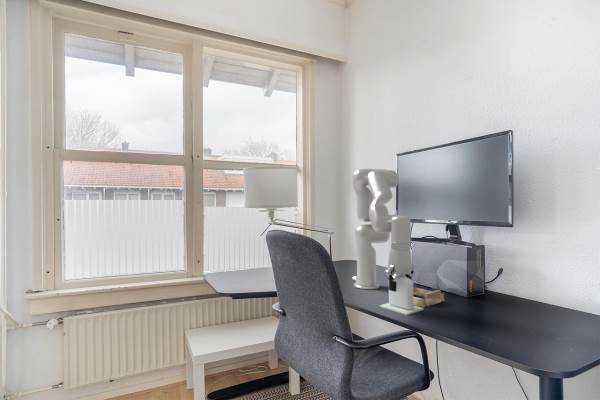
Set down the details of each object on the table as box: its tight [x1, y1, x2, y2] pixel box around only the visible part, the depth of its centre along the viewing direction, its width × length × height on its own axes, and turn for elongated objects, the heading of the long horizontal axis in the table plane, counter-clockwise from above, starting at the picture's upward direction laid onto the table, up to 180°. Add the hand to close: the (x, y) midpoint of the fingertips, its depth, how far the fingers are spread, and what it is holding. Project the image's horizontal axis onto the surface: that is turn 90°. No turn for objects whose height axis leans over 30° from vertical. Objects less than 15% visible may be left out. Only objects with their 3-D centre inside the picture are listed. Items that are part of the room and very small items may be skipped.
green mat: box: [378, 302, 424, 316], centre depth 135 cm, size 13×11×1 cm
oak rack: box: [413, 286, 445, 309], centre depth 147 cm, size 15×15×5 cm
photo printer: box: [388, 275, 415, 310], centre depth 135 cm, size 10×4×12 cm, turn 38°
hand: (400, 288), depth 135 cm, fingers open, 9 cm apart
